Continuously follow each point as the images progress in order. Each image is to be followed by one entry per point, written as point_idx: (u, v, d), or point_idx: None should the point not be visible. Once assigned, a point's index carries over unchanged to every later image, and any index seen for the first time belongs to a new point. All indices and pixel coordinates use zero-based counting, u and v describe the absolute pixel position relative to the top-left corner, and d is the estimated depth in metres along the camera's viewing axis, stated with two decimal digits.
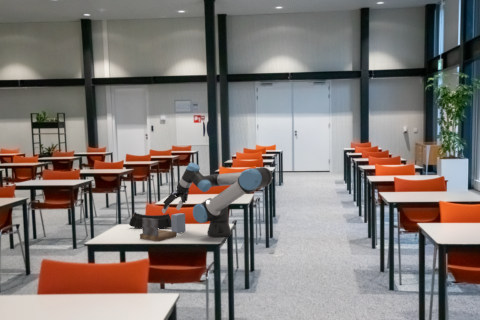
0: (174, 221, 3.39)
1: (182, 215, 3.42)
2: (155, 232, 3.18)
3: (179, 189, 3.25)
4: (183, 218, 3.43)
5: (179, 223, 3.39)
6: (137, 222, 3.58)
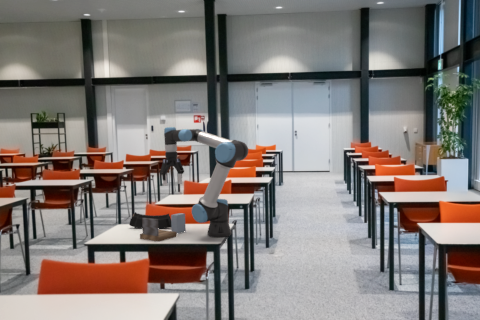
0: (174, 221, 3.39)
1: (182, 215, 3.42)
2: (155, 232, 3.18)
3: (168, 155, 3.30)
4: (183, 218, 3.43)
5: (179, 223, 3.39)
6: (137, 222, 3.58)
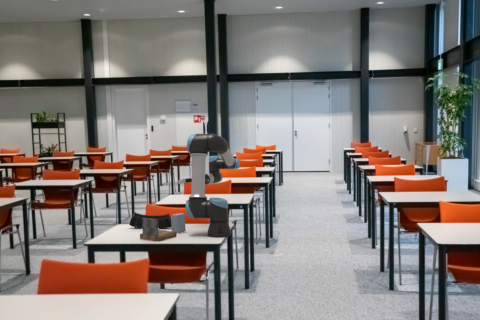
0: (174, 221, 3.39)
1: (182, 215, 3.42)
2: (155, 232, 3.18)
3: None
4: (183, 218, 3.43)
5: (179, 223, 3.39)
6: (137, 222, 3.58)
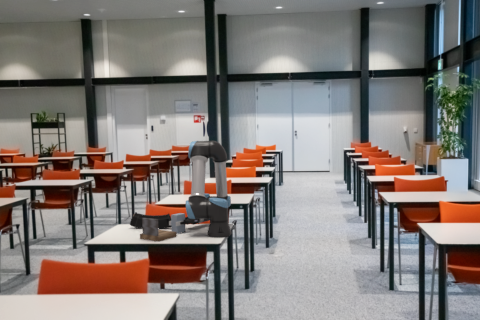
0: (174, 221, 3.39)
1: (182, 215, 3.42)
2: (155, 232, 3.18)
3: None
4: (183, 218, 3.43)
5: None
6: (138, 222, 3.58)
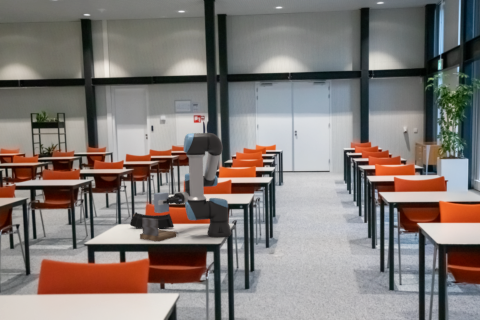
0: (157, 200, 3.27)
1: (165, 194, 3.30)
2: (155, 232, 3.18)
3: None
4: (166, 197, 3.31)
5: None
6: (138, 222, 3.58)
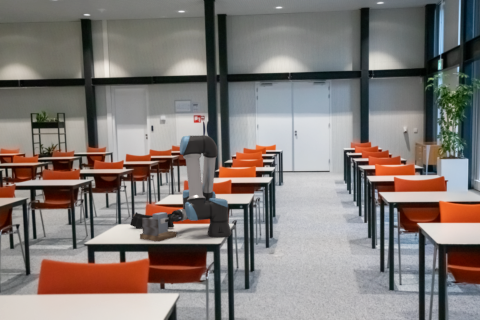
0: None
1: (164, 214, 3.28)
2: (155, 232, 3.18)
3: None
4: (165, 217, 3.29)
5: None
6: (138, 222, 3.58)
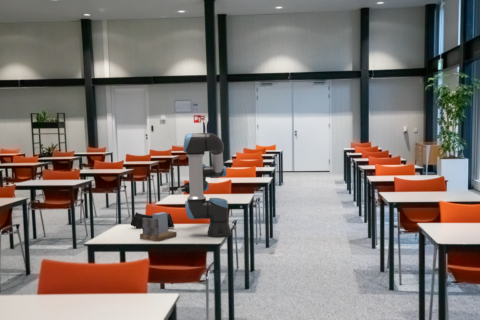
0: None
1: (164, 214, 3.28)
2: (155, 232, 3.18)
3: None
4: (165, 217, 3.29)
5: (160, 222, 3.25)
6: (138, 222, 3.58)
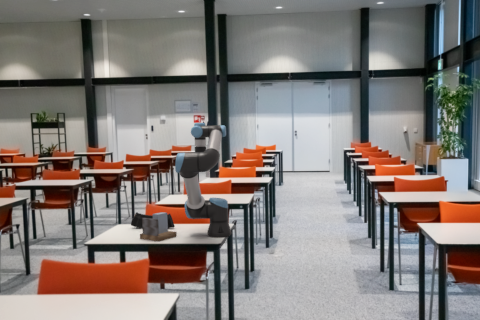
0: None
1: (164, 214, 3.28)
2: (155, 232, 3.18)
3: (197, 150, 3.43)
4: (165, 217, 3.29)
5: (160, 222, 3.25)
6: (139, 222, 3.58)
